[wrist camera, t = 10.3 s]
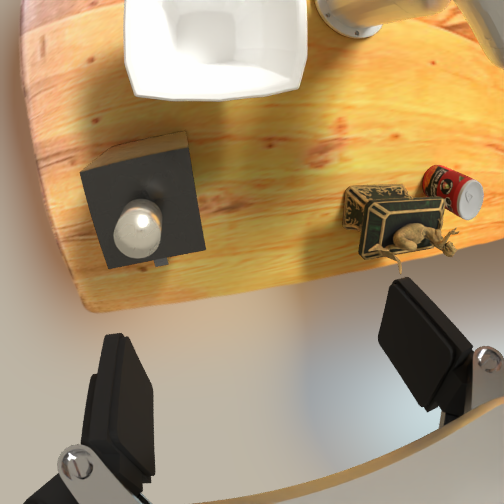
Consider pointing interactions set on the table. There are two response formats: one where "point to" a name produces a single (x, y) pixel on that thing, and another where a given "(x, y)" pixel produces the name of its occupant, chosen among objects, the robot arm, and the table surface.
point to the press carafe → (145, 195)
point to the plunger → (138, 229)
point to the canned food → (454, 191)
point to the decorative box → (395, 221)
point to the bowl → (214, 48)
